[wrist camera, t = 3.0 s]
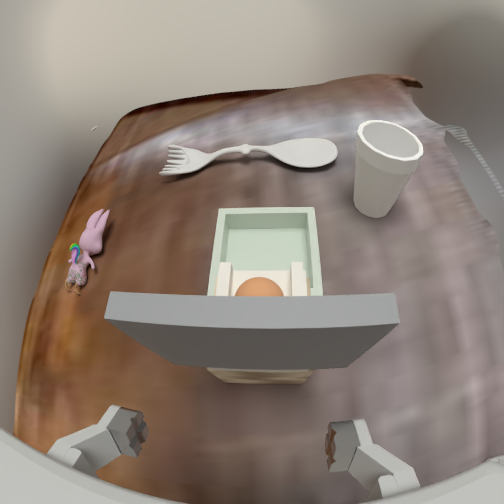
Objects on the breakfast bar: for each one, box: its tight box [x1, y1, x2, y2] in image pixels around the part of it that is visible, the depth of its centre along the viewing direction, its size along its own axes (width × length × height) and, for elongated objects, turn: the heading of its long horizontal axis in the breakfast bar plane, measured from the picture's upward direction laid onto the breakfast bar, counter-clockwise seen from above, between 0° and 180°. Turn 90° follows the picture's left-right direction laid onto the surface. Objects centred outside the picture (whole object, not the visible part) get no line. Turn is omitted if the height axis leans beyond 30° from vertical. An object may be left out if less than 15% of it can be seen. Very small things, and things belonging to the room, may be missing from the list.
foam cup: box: [353, 120, 423, 218], centre depth 38 cm, size 10×9×13 cm
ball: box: [235, 277, 284, 296], centre depth 22 cm, size 4×4×4 cm
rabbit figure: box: [64, 209, 110, 295], centre depth 39 cm, size 6×6×15 cm
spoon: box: [159, 138, 338, 176], centre depth 49 cm, size 9×32×4 cm, turn 91°
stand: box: [207, 277, 313, 384], centre depth 29 cm, size 9×9×9 cm
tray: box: [207, 207, 323, 296], centre depth 37 cm, size 13×13×4 cm
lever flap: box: [104, 262, 400, 372], centre depth 19 cm, size 9×14×12 cm, turn 88°
